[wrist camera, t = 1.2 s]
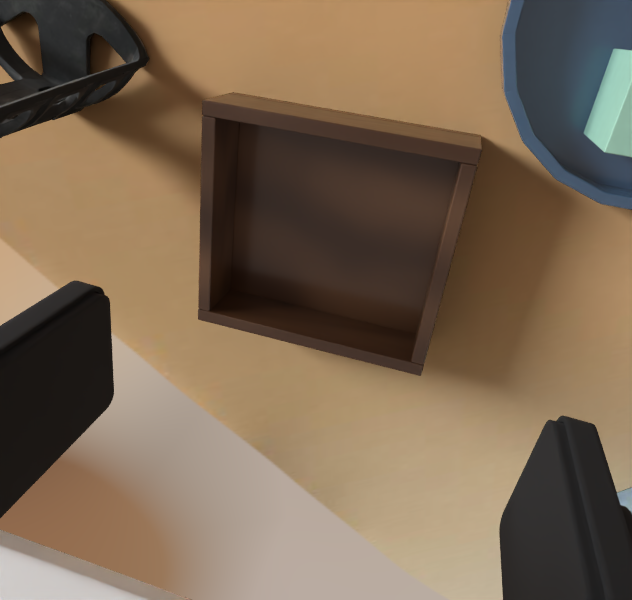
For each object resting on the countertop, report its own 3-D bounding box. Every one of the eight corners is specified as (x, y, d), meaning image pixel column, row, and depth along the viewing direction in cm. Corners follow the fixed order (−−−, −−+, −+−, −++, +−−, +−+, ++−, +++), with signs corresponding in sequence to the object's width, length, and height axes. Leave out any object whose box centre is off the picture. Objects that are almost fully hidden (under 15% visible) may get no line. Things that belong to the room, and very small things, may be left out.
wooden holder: (232, 92, 31) (201, 99, 28) (481, 135, 29) (482, 149, 25) (223, 292, 38) (197, 319, 34) (426, 341, 35) (420, 376, 32)
